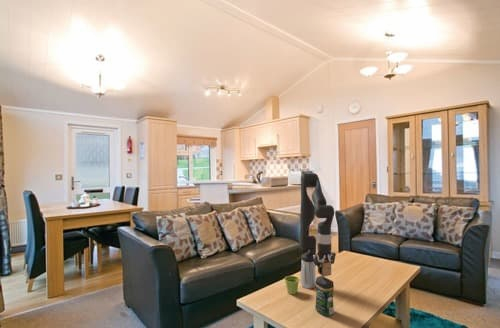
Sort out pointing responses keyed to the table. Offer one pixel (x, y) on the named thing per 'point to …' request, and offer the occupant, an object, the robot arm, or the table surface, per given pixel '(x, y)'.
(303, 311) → the table surface
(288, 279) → the plant pot
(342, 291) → the table surface
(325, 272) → the walnut block
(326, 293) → the coffee jar
